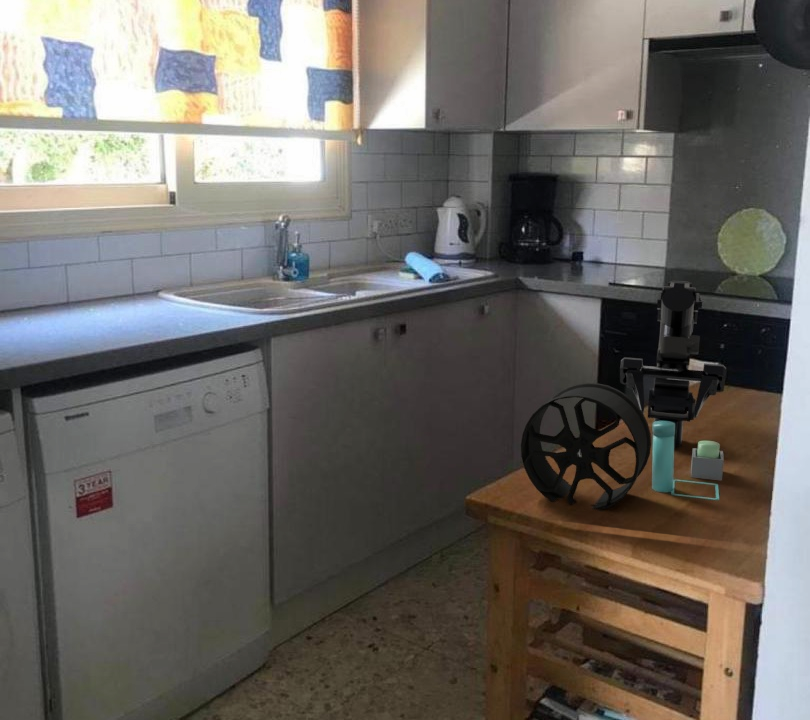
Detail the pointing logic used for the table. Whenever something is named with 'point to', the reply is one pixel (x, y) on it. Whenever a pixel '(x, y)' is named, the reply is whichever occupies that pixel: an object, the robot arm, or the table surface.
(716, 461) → the button housing
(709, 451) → the button
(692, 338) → the robot arm
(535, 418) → the car wheel rim
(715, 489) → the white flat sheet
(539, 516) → the table surface
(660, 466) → the teal round-topped cylinder
